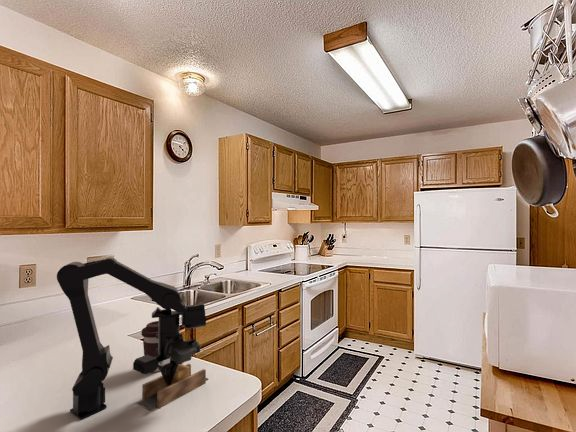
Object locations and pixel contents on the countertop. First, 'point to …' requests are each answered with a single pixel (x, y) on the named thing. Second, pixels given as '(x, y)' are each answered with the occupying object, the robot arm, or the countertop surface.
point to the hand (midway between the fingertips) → (168, 385)
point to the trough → (169, 389)
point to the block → (181, 373)
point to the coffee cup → (150, 339)
